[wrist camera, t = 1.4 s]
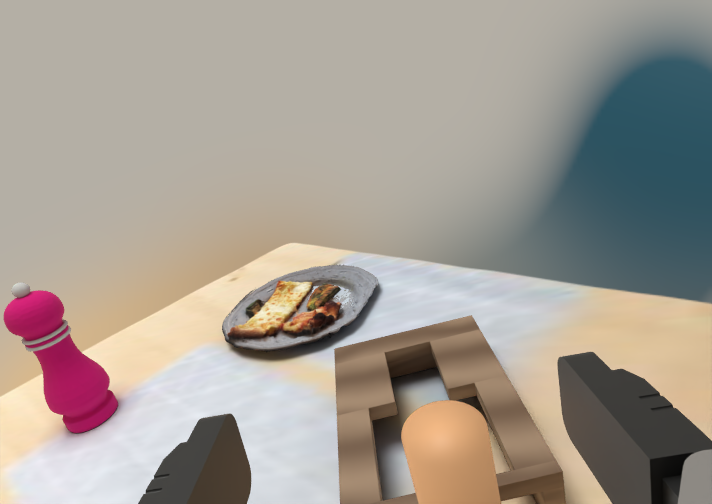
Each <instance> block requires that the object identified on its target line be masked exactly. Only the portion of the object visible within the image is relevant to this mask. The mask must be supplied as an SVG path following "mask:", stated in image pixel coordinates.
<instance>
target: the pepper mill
mask: <svg viewBox="0 0 712 504" xmlns="http://www.w3.org/2000/svg"><path fill="white" fill-rule="evenodd" d="M12 294H13V295H14V296H15V297H17V298H15V299H14V300H13V301H12V302H11V303H10V304H8V306H7V308H6V309H5V312H4V322H5V325H6V327H7V328H8V330H9V331H10V332H11V333H13V334H15V335H19V336H21V337H23V339H22V343H23V344H24V345H25V346H26V349H27V350H28V351H33V352H34V354H35V355H36V356H37V358H38V360H39V362H40V364H41V366H42V370H43V378H44V394H45V399H46V402H47V404H48V406H49V408H50V410H51V411H53V412H54V413H57V414H61V415H63V422H64V423H65V425H66V427H67V428H68V430H69V431H70V432H73V433H81V432H85V431H88V430H91V429H93V428H95V427H97V426H99V425H100V424H102V423H103V422H104V421H106V420H107V419H108V418H109V417H110V416H111V415H112V414H113V413H114V412H115V410H116V409H117V406H118V402H117V400H116V398H115V396H114V394H113V392H112V391H110V390H108V387H109V376H108V375H107V373H106V372H105V370H104V369H103V368H102V367H101V366H100V365H99V364H97V363H96V362H94V361H93V360H91V359H90V358H88V357H87V356H85V355H84V354H82V353H81V352H80V351H79V350H78V349H77V347H76V346H75V344H74V343H73V341H72V339H71V337H70V334H69V333H70V331H71V328H70V327H69V326H68V325H67V324H68V323H67V321H66V320H62V317H63V314H64V307H63V304H62V302H61V301H60V299H59V298H58V297H57V296H56V295H54V294H53V293H51V292H47V291H32V292H30V287H29V286H28V285H27V284H25V283H17V284H15V285H14V286H13V287H12Z"/></svg>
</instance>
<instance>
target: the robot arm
mask: <svg viewBox="0 0 712 504" xmlns="http://www.w3.org/2000/svg"><path fill="white" fill-rule="evenodd" d="M558 375H559V386H560V396H561V406H562V415H563V420H564V424H565V427H566V430H567V433H568V435H569V437H570V439H571V441H572V443H573V444H574V446H575V447H576V449H577V450H578V452H579V453H580V455H581V456H582V458H583V459H584V461H585V462H586V464H587V465H588V467H589V468H590V470H591V471H592V473H593V475H594V476H595V478H596V479H597V481H598V482H599V484H600V485H601V487H602V488H603V490H604V491H605V493H606V494H607V496H608V497H609V499H610V500H611V502H612V503H613V504H712V441H711V440H710V439H709V438H708V437H707V436H706V435H705V434H704V433H703V432H702V431H701V430H699V429H698V428H697V427H696V426H695V425H694V424H693V423H692V422H691V421H690V420H689V419H687V418H686V417H685V416H684V415H683V414H682V413H681V412H680V411H679V410H678V409H676V408H673V405H672V404H671V403H670V402H669V401H668V400H667V399H666V398H664V397H663V396H660V393H659V392H658V391H657V390H656V389H655V388H654V387H652V386H651V385H650V384H649V383H648V382H647V381H646V380H645V379H643V378H641V377H639V376H637V375H634V374H632V373H630V372H628V371H626V370H624V369H617V370H611V369H610V368H609V367H608V366H607V365H606V364H605V363H604V362H603V361H602V360H601V359H600V358H599V357H598V356H597V355H596V354H595V353H593V352H587V353H581V354H575V355H569V356H563V357H559V359H558ZM250 490H251V470H250V465H249V462H248V458H247V455H246V452H245V449H244V445H243V442H242V439H241V436H240V433H239V429H238V426H237V423H236V420H235V418H234V416H233V415H232V414H224V415H218V416H213V417H207V418H201V419H200V420H199V421H198V422H197V424H196V426H195V428H194V430H193V432H192V433H191V435H190V437H189V439H188V441H187V442H184V443H180V444H179V445H178V446H177V447H176V448H175V449H174V450H173V451H172V452H171V453H170V454H169V455H168V456H167V457H166V458H165V459H164V460H163V461H162V463H161V465H160V467H159V468H158V470H157V472H156V474H155V475H154V480H152V481H151V482H150V484H149V486H148V487H147V489H146V494H143V496H142V498H141V500H140V501H139V503H138V504H247V501H248V498H249V494H250Z"/></svg>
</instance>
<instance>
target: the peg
mask: <svg viewBox="0 0 712 504" xmlns="http://www.w3.org/2000/svg"><path fill="white" fill-rule="evenodd" d="M401 439H402V443H403V447H404V451H405V455H406V458H407V462H408V466H409V469H410V473H411V477H412V481H413V484H414V488H415V492H416V495H417V499H418V503H419V504H501V500H500V495H499V489H498V483H497V477H496V472H495V466H494V460H493V455H492V449H491V443H490V437H489V432H488V426H487V423H486V420H485V418H484V417H483V415H482V414H481V413H480V412H479V411H478V410H477V409H475V408H474V407H472V406H470V405H468V404H466V403H463V402H459V401H452V400H445V401H436V402H432V403H429V404H426V405H424V406H422V407H420V408H419V409H417V410H416V411H414V412H413V413H412V414H411V415H410V416H409V417H408V418H407V420H406V421H405V423H404V425H403V428H402V433H401Z"/></svg>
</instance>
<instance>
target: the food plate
mask: <svg viewBox="0 0 712 504" xmlns="http://www.w3.org/2000/svg"><path fill="white" fill-rule="evenodd" d="M376 284H377V285H376ZM334 285H336V286H334ZM378 285H379V284H378V280H377V278H376V277H375V276H374V275H373V274H371V273H369V272H367V271H365V270H363V269H361V268H358V267H354V266H347V265H342V266H341V265H340V264H339V266H338V265H329V266H322V267H320V266H319V267H312V268H309V269H304V270H301V271H296V272H293V273H289V274H287V275H284V276H282V277H279V278H276V279H274V280H271V281H270V282H268V283H267V284H265V285H263V286H262V287H260V288H258V289H256V290H255V291H254V290H253V291H254V292H253V291H251V292H252V293H251V292H250V293H251V294H250V293H249V294H250V295H249V294H248V295H246V296H245V297H244V298H243V299H242V300H241V301H240V302H239V303H238V304H237V305H236V307H235V308H234V309H235V310H234V309H233V310H234V311H233V310H232V312H231V314H230V313H229V314H228V315H229V316H228V317H226V318H225V320H224V322H223V325H222V330H223V333H224V336H225V340H226V342H229V343H231V344H232V345H233V346H234V347H237V348H243V349H250V350H261V351H266V352H268V351H276V350H283V349H287V348H291V347H294V346H297V345H300V344H304V343H311V342H315V341H317V340H319V339H320V338H324V337H326V336H330V335H329V334H328V333H330V332H331V333H332V334H333V333H337V332H338V331H339V329H340V328H341V326H343V325H345V326H348V325H350V323H351V322H352V321H354V319H355V318H356V317H357V315H358V314H359V313H360V312H361V310H362V309H363V307H364V306H365V305H366V303H367V302H368V299H369V298H370V296H371V295H372V293H373V290H374V288H375V286H378ZM313 286H319V287H318V288H316V289H315V290H314V292H313V293H311V292H312V290H313V289H312V288H313ZM338 286H340V287H344V288H345V289H349V292H351V293H352V294H350V295H349V296H348V297H349V298H350V299H349V302H347V303H345V304H343V305H342V304H341V303H342V302H343V301H344V300H345V299H346V298H348V297H345V298H344V297H342V296H341V297H342V298H341V299H340V301H339V300H338V299H337V298H333V297H334V296H335V295H336V294H337V292H339V291H340V290H341V289H340V288H339V287H338ZM344 291H346V290H344ZM311 294H312V295H311ZM346 294H347V293H346ZM310 295H311V296H310ZM309 296H310V298H308V297H309ZM346 296H347V295H346ZM337 297H338V296H337ZM339 297H340V296H339ZM339 297H338V298H339ZM353 297H354V298H353ZM343 298H344V299H343ZM308 299H309V300H308ZM351 299H352V302H351V301H350V300H351ZM346 301H347V300H346ZM350 303H351V304H352V303H353V304H352V306H351V304H350ZM342 306H344V307H343V308H342ZM345 314H346V315H345ZM358 316H359V315H358ZM330 337H331V336H330Z"/></svg>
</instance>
